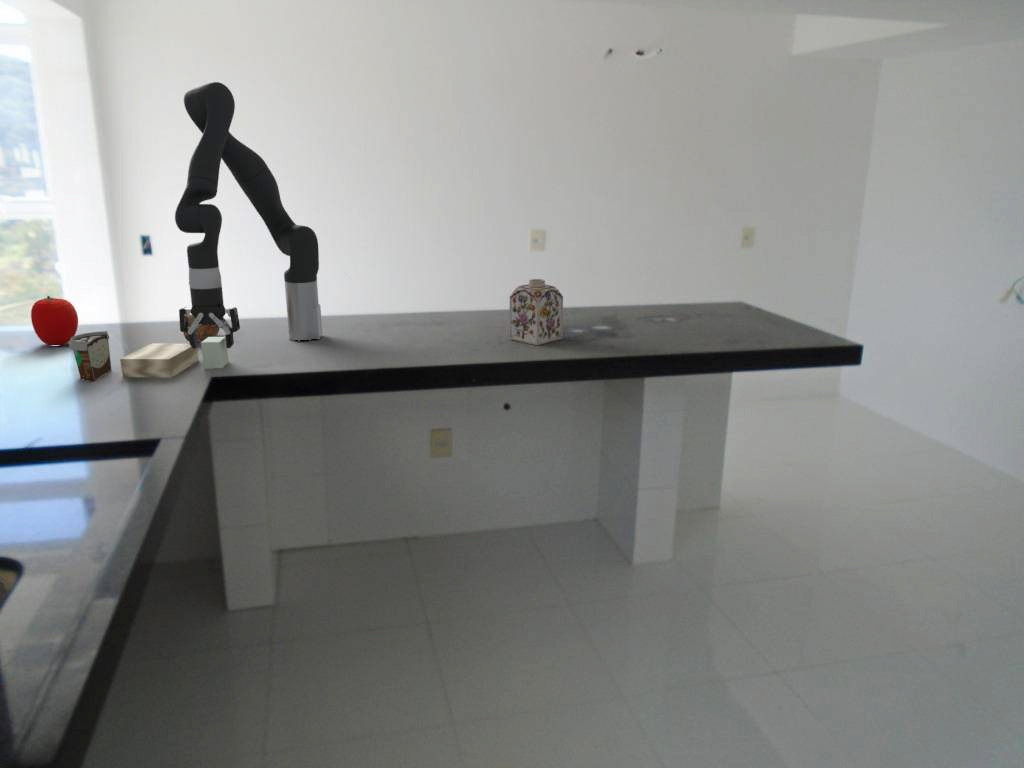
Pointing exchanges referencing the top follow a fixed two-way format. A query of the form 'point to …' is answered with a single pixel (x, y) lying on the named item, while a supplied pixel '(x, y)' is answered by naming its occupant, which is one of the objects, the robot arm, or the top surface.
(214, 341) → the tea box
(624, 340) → the top surface
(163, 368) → the maple block
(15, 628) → the top surface
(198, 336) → the tin
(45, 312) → the red apple
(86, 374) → the food container
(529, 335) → the decorative jar
